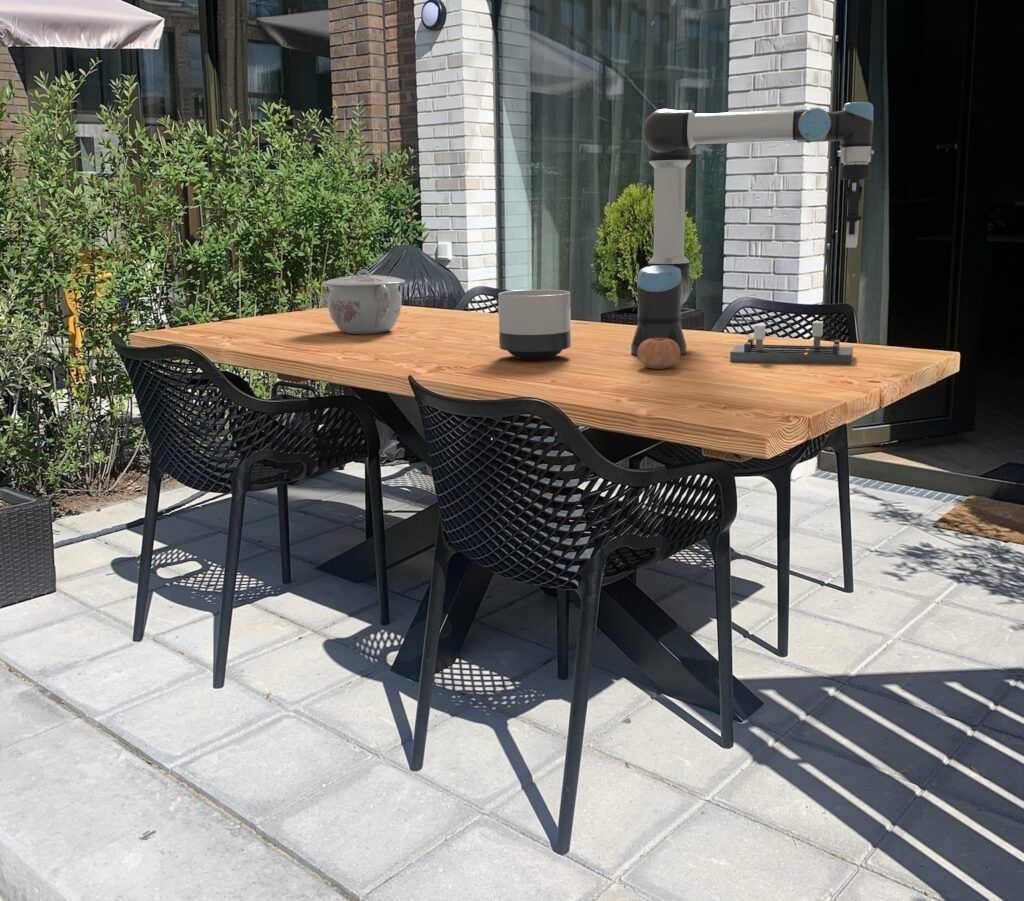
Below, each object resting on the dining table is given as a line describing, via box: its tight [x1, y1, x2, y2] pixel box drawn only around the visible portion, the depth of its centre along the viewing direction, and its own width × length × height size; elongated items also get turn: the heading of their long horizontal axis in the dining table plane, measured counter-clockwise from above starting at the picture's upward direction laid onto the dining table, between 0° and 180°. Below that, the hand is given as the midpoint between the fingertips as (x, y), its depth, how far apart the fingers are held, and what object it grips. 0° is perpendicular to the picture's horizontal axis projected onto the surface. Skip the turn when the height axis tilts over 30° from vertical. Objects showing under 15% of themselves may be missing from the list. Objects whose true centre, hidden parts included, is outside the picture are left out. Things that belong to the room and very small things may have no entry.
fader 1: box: [753, 323, 766, 350], centre depth 280 cm, size 2×4×6 cm, turn 162°
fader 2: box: [811, 320, 824, 347], centre depth 283 cm, size 2×4×6 cm, turn 162°
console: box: [729, 337, 854, 366], centre depth 281 cm, size 30×16×4 cm, turn 72°
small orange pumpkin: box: [636, 337, 681, 370], centre depth 272 cm, size 11×11×8 cm
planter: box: [497, 288, 572, 361], centre depth 292 cm, size 19×19×18 cm
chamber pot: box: [321, 268, 406, 336], centre depth 356 cm, size 28×28×21 cm
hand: (851, 246), depth 288 cm, fingers open, 13 cm apart
